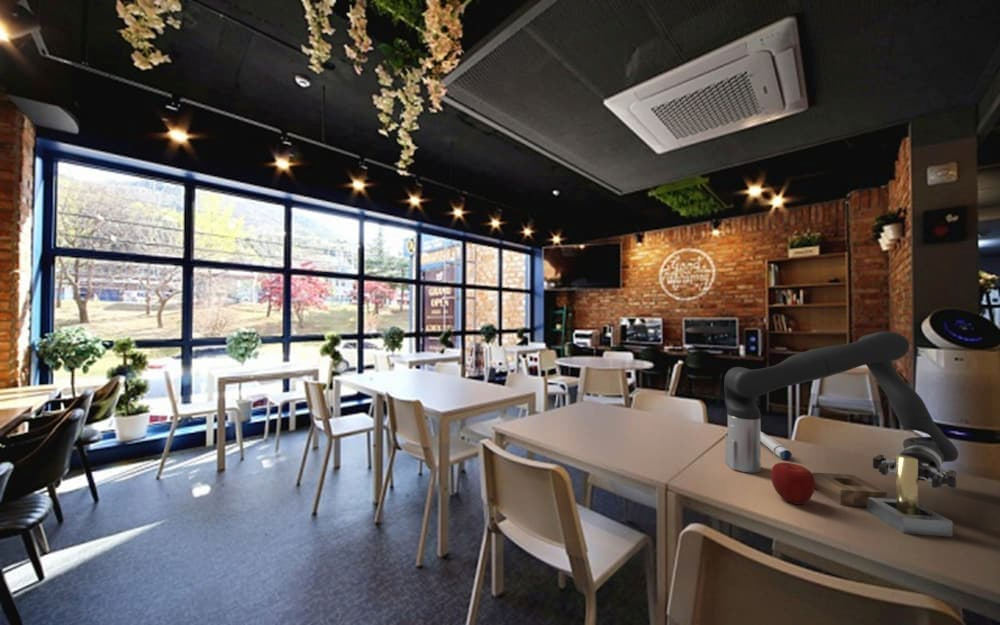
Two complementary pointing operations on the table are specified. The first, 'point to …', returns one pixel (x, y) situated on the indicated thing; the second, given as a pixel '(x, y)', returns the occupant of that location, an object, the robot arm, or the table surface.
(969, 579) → the table surface
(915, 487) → the brass axle
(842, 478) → the walnut block
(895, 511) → the grey steel socket block
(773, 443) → the white marker pen
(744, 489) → the table surface
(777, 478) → the apple
